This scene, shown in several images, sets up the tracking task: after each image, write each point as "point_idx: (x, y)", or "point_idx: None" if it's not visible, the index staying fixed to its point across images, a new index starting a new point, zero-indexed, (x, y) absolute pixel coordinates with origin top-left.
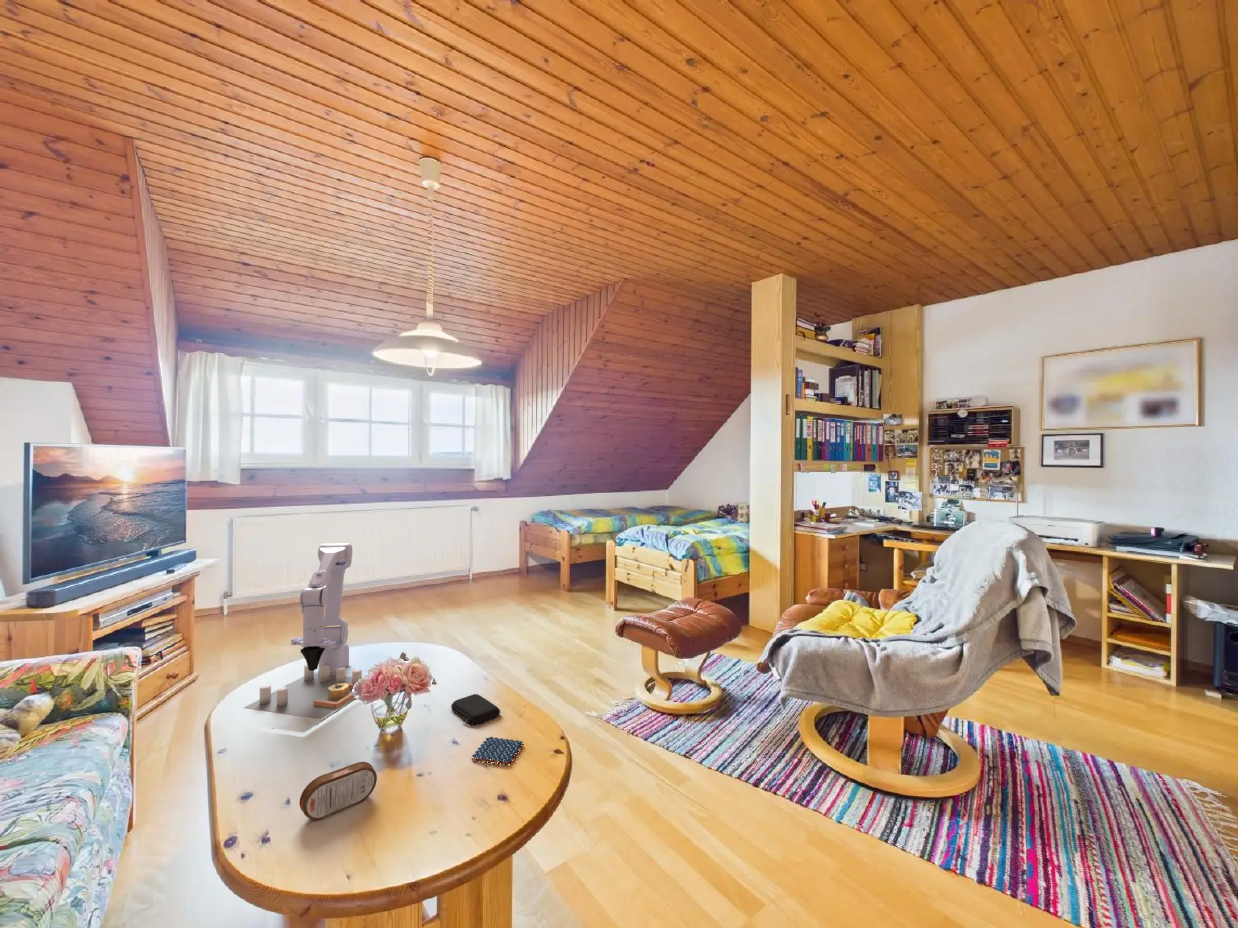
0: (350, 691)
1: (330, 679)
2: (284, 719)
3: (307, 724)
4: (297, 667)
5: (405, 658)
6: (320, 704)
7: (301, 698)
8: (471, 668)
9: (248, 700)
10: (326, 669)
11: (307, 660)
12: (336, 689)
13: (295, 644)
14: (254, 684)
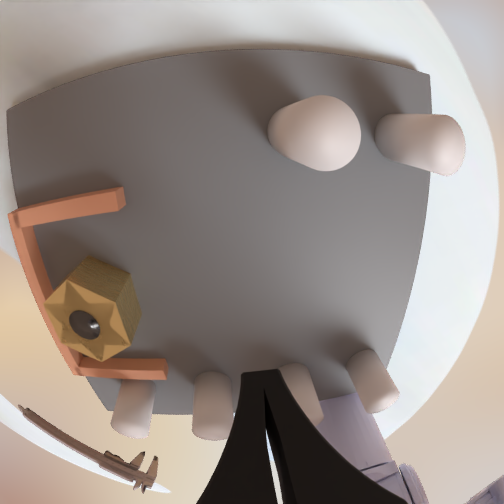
0: None
1: None
2: (169, 44)
3: (43, 70)
4: (432, 379)
5: (125, 477)
6: (82, 195)
7: (250, 220)
8: (44, 448)
9: None
10: None
11: (298, 439)
12: (63, 298)
13: (488, 487)
14: (490, 268)
